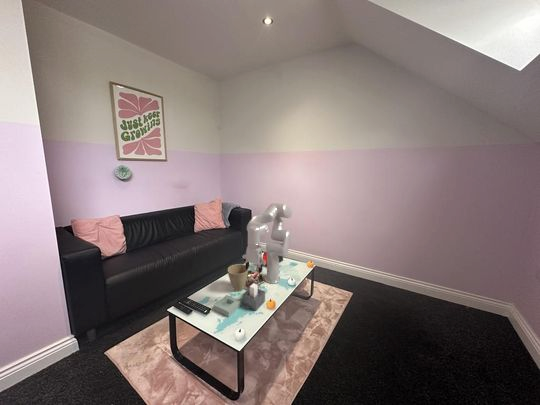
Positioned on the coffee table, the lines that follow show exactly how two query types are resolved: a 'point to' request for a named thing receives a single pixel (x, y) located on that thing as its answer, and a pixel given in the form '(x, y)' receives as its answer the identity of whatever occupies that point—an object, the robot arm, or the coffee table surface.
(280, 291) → the coffee table surface
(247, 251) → the robot arm
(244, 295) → the dark grey rounded block
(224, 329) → the coffee table surface
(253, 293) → the plug
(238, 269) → the plant pot
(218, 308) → the block
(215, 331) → the coffee table surface
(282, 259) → the game console
